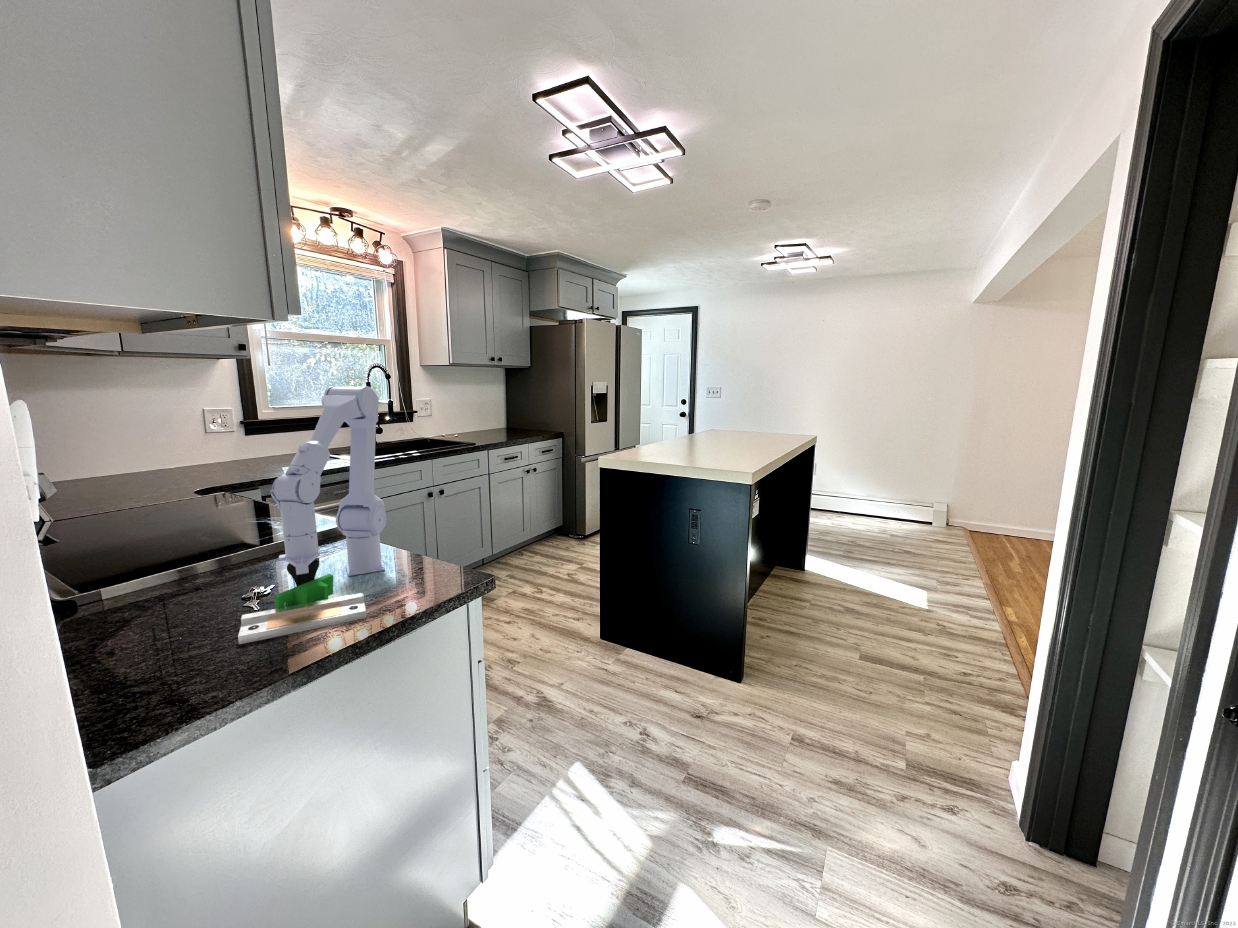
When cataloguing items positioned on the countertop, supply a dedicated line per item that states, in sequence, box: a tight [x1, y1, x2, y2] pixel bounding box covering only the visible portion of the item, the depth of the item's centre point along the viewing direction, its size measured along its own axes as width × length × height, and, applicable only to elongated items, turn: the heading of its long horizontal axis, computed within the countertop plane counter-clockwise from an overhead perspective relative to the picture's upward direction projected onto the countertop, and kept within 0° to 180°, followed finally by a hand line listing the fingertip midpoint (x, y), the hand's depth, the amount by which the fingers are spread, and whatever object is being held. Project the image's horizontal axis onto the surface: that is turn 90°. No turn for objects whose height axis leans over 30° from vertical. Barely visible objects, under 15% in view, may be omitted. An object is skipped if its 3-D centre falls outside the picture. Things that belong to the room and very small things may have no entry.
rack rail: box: [237, 592, 367, 645], centre depth 95 cm, size 7×20×2 cm, turn 121°
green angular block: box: [274, 573, 334, 609], centre depth 101 cm, size 11×4×5 cm, turn 155°
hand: (306, 595), depth 104 cm, fingers closed
